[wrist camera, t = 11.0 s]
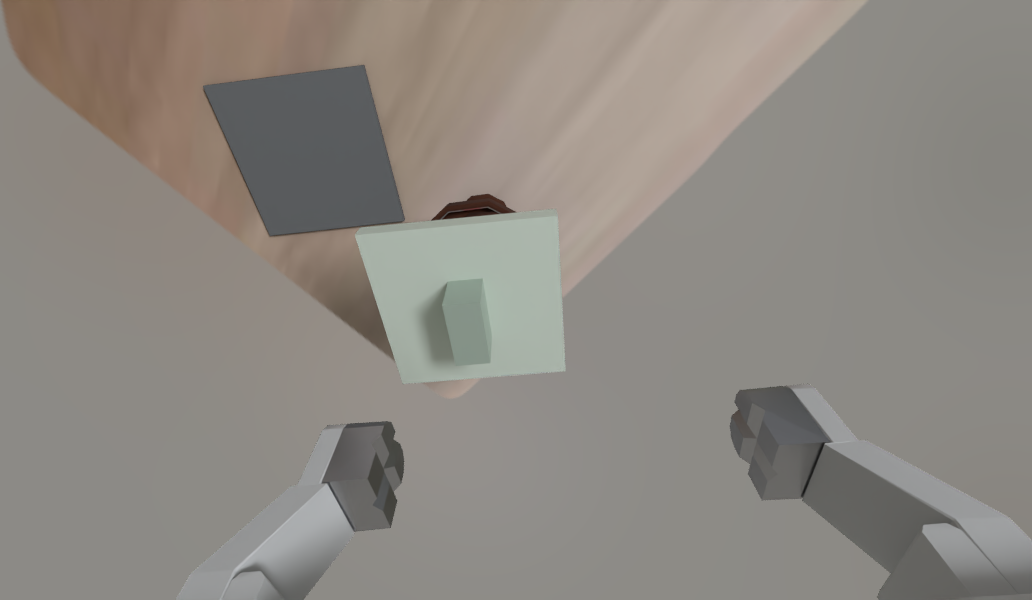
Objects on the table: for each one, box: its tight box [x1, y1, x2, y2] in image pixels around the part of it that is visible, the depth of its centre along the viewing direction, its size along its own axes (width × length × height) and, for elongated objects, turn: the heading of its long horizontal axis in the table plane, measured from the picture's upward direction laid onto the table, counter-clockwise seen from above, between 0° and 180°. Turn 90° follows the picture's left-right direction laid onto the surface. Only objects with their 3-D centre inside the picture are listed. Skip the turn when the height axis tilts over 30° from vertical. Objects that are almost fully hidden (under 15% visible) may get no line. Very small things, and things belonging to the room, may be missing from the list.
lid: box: [355, 209, 565, 384], centre depth 31 cm, size 13×13×4 cm
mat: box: [203, 65, 405, 236], centre depth 41 cm, size 14×14×1 cm
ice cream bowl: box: [431, 194, 517, 221], centre depth 39 cm, size 11×11×15 cm
